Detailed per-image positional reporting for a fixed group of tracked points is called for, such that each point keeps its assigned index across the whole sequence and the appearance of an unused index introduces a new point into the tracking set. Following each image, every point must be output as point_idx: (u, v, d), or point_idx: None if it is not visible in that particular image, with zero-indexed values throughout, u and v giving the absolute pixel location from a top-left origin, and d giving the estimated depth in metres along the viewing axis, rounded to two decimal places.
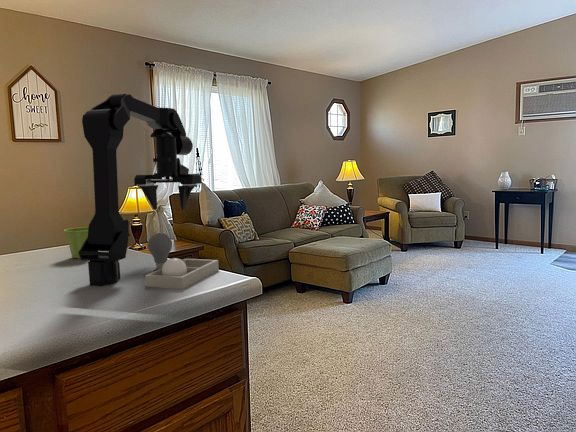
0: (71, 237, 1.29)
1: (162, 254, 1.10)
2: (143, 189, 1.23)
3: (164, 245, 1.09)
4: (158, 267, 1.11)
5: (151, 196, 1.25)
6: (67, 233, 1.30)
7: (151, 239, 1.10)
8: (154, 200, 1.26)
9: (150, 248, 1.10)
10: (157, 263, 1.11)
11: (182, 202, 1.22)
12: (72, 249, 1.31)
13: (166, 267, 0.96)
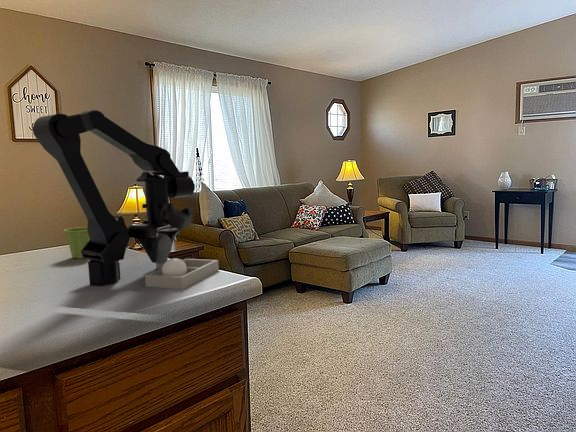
0: (71, 237, 1.29)
1: (162, 254, 1.10)
2: None
3: (164, 245, 1.09)
4: (158, 267, 1.11)
5: None
6: (67, 233, 1.30)
7: None
8: None
9: None
10: (157, 263, 1.11)
11: None
12: (72, 249, 1.31)
13: (166, 267, 0.96)
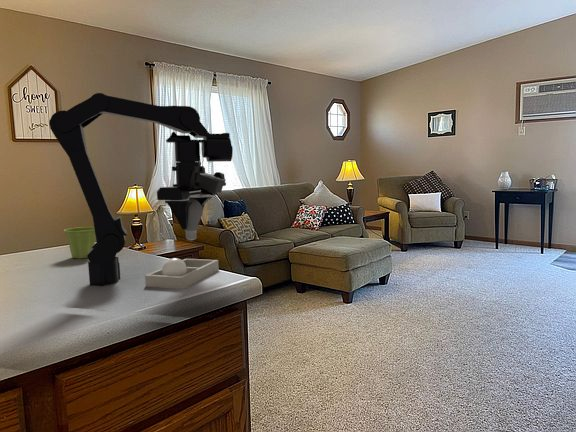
0: (71, 237, 1.29)
1: (193, 221, 1.03)
2: None
3: (195, 211, 1.02)
4: (188, 235, 1.04)
5: None
6: (67, 233, 1.30)
7: None
8: None
9: None
10: (187, 230, 1.04)
11: None
12: (72, 249, 1.31)
13: (166, 267, 0.96)
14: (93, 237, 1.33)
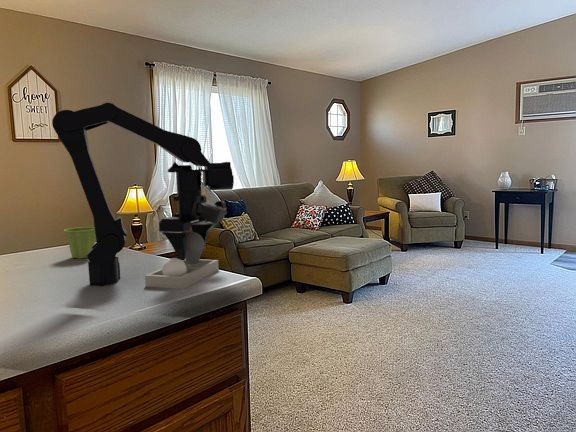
0: (71, 237, 1.29)
1: (195, 255, 1.04)
2: None
3: (197, 245, 1.03)
4: None
5: None
6: (67, 233, 1.30)
7: None
8: None
9: None
10: (189, 264, 1.05)
11: None
12: (72, 249, 1.31)
13: (166, 267, 0.96)
14: (93, 237, 1.33)
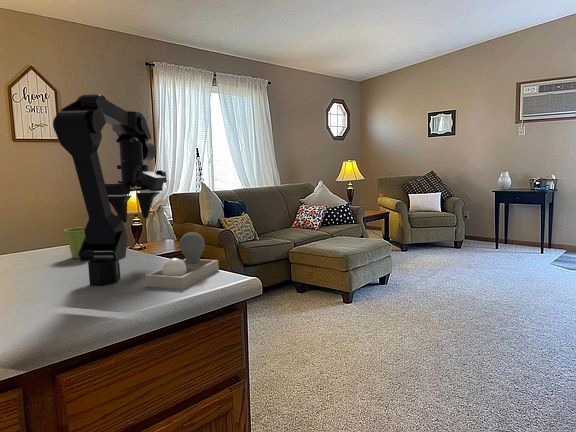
0: (71, 237, 1.29)
1: (195, 255, 1.04)
2: None
3: (197, 245, 1.03)
4: None
5: (141, 203, 1.21)
6: (67, 233, 1.30)
7: (183, 238, 1.04)
8: (144, 208, 1.21)
9: (182, 248, 1.03)
10: (189, 264, 1.05)
11: None
12: (72, 249, 1.31)
13: (166, 267, 0.96)
14: None
